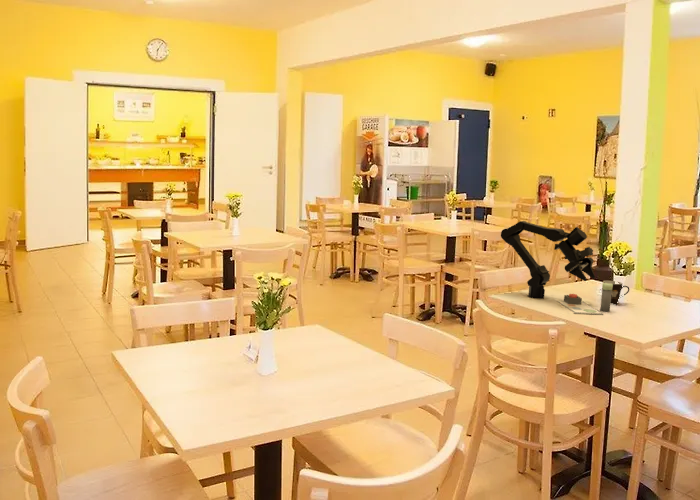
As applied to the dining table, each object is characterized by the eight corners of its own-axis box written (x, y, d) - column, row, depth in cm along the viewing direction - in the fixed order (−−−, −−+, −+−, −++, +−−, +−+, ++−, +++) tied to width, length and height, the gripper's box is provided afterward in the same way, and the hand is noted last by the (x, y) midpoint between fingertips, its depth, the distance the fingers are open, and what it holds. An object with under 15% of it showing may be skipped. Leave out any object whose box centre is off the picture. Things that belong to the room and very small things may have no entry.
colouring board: (574, 314, 312) (574, 312, 311) (556, 302, 334) (556, 300, 334) (603, 315, 313) (603, 313, 312) (582, 303, 335) (583, 301, 335)
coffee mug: (599, 303, 336) (601, 282, 335) (602, 300, 344) (604, 279, 342) (625, 307, 331) (628, 286, 329) (628, 303, 338) (630, 283, 337)
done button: (570, 299, 329) (570, 295, 329) (567, 297, 332) (568, 293, 332) (578, 299, 329) (578, 295, 329) (575, 298, 333) (575, 293, 332)
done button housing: (568, 304, 328) (569, 297, 328) (563, 301, 334) (564, 295, 333) (581, 304, 328) (581, 298, 328) (576, 301, 334) (576, 295, 334)
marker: (602, 313, 316) (605, 284, 314) (598, 310, 320) (601, 282, 318) (611, 313, 316) (614, 284, 314) (607, 311, 320) (610, 282, 318)
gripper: (573, 242, 315) (595, 271, 310) (591, 239, 329) (612, 267, 324) (555, 257, 322) (576, 285, 316) (573, 254, 336) (593, 281, 330)
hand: (590, 279), depth 321 cm, fingers open, 9 cm apart
